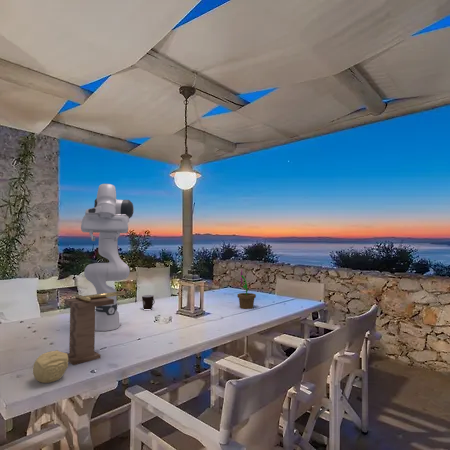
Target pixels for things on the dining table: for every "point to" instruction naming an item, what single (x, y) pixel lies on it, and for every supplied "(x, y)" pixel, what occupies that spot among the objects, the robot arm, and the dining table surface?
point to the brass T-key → (98, 295)
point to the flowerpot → (246, 297)
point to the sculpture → (50, 366)
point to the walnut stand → (83, 329)
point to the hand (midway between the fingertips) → (104, 240)
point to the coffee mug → (147, 301)
